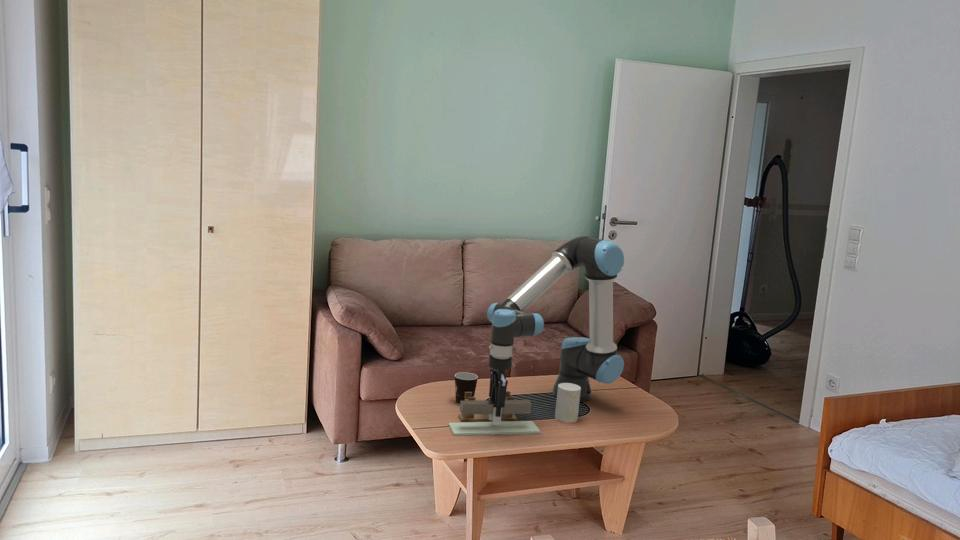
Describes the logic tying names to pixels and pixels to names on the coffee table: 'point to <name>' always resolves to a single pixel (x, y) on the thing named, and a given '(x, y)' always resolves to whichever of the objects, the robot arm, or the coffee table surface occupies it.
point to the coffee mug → (464, 385)
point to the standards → (485, 416)
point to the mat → (493, 428)
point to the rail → (487, 407)
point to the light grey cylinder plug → (567, 402)
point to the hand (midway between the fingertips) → (494, 422)
